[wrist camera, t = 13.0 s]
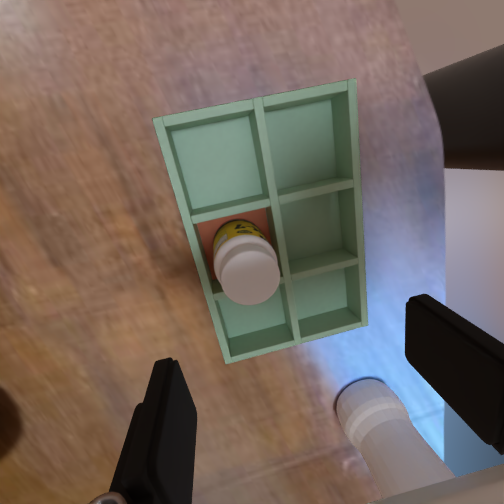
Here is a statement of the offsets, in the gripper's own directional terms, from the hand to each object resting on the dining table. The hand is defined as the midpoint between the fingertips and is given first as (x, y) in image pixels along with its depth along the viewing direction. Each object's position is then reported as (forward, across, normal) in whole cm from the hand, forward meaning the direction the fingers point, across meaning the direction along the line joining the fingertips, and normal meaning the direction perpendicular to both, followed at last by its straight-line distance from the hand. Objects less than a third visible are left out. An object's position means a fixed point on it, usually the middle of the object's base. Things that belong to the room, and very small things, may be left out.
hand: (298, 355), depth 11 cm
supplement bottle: (+16, +1, 0) cm, 16 cm away
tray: (+17, -2, 0) cm, 17 cm away
